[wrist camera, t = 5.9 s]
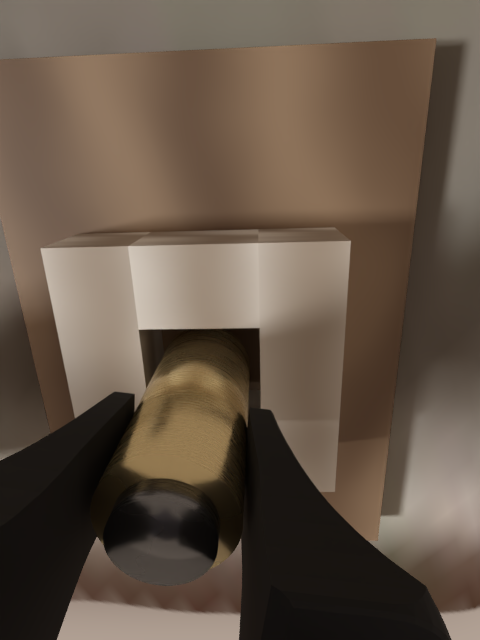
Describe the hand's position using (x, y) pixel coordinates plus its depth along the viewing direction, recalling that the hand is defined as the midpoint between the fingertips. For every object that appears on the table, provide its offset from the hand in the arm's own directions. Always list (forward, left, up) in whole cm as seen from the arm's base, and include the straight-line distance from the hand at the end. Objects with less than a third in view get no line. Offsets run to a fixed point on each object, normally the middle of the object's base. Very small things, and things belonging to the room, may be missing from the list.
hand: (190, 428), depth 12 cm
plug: (0, 0, -4) cm, 4 cm away
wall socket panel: (0, 0, -7) cm, 7 cm away
